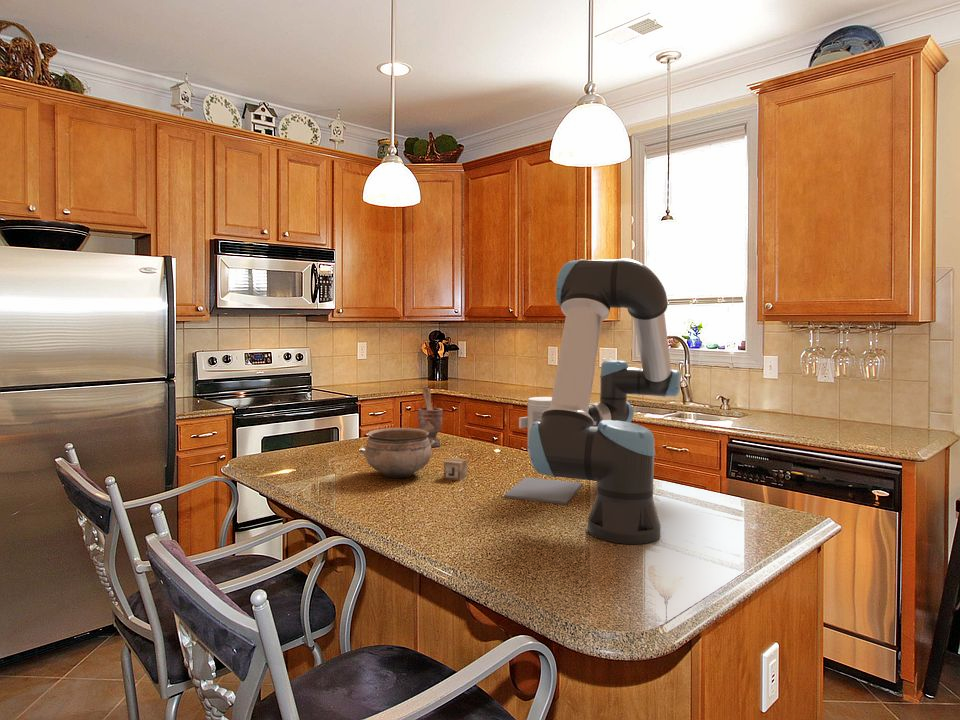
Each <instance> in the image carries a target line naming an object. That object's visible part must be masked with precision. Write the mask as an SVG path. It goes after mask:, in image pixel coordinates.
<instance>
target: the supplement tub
mask: <svg viewBox="0 0 960 720" xmlns="http://www.w3.org/2000/svg"><path fill="white" fill-rule="evenodd" d="M551 401H552V396H534V397H533V396H532V397H529V398H527V417H528V427H527V439H526V440H527V443H526V444H527V448H526V449H527V453H528V454H529V455H530V453H529V432H530V428H531V427H532V424H533V423H534V422H537V421H540V422H541V419H542V413H543V411H545V410H546V409H548V408H549V407H550V406H551Z"/></svg>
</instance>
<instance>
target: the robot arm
mask: <svg viewBox="0 0 960 720" xmlns="http://www.w3.org/2000/svg"><path fill="white" fill-rule="evenodd" d="M555 287H556V290H555V299H556V302H557V305H558V306H559V307H560V309H561V310H560V311H561V313H562V314H563V315H564V316H565V320H564V325H563V331H562V338H561V342H560V350H559V353H558V361H557V366H556V371H555V377H554V378H555V379H554V384H553V390H552V396H551V397H552V401H551V406H550V407H549V408H548V409H546V410H545V411H543V413H542V419H541V422H540V421H537V422H534V423H533V424H532V427H531V428H530V432H529V453H530V454H529V453H528V454H529V457H530V458H529V459H530V463H531V465H532V467H533V469H534V471H536V472H537V473H538V474H540V475H544V476H550V477H552V478H557V477H558V478H565V479H567V478H568V479H574V480H585V481H594V482H596V484H597V485H596V486H597V487H596V496H595V499H594V503H593V504H592V508H591V510H590V514H589V515H588V519H587V531H588V533H589V534H590V535H591V536H593V537H595V538H598V539H600V540H602V541H606V542H611V543H616V544H617V543H618V544H626V545H640V544H641V545H642V544H648V543H652V542H656V541H658V540H659V539H660V537H661V532H662V531H661V523H660V522H661V521H660V519H659V516H658V511H657V508H656V506H655V505H656V504H655V502H654V472H655V456H656V450H655V436H654V433H653V432H652V431H651V430H650V429H649V428H648V427H645V426H643V425H640V424H637V423H634V422H633V423H632V420H633V418H634V414H635V413H634V409H633V406H632V404H631V403H630V402H628V399H627V398H628V397H627V396H628V395H639V396H653V397H663V398H666V397H677V396H679V394H680V391H681V383H682V382H681V381H682V380H681V372H680V371H679V370H678V369H673V368H672V364H671V356H670V348H669V338H668V334H667V333H668V332H667V325H666V318H665V316H666V315H665V313H666V311H667V309H668V297H667V296H668V295H667V291H666V290H665V287H664V285H663V283H662V281H661V280H660V279H659V277H658V276H657V275H656V273H655V272H653V271H652V270H651V269H650V268H649V267H647V266H646V265H645V264H643V263H641V262H639V261H637V260H634V259H631V258H619V259H617V258H616V259H615V258H612V259H610V258H609V259H608V258H607V259H585V258H580V259H578V260H569V261H568V262H565V263H564V264H563V266H562V267H561V269H560V270H559V272H558V275H557V279H556V283H555ZM612 308H613V309H615V308H616V309H619V308H620V309H621V308H622V309H623V308H624V309H627V313H628V315H629V316H630V317H632V318H633V322H634V329H635V334H636V341H637V345H638V346H637V347H638V350H639V351H638V352H639V357H640V362H641V367H629V364H628V362H627V361H626V360H620V359H619V360H617V359H616V360H615V359H609V360H607V359H606V360H604V361H602V363H601V366H600V367H601V368H600V369H601V370H600V376H599V378H600V389H599V390H600V393H599V396H600V397H599V402H596V403H591V398H592V389H593V384H594V376H595V369H596V363H597V355H598V350H599V342H600V336H601V329H602V322H604V321H605V320H607V319H608V318H609V317H610V310H611V309H612ZM518 428H519V429H524V428H528V416H523V417H518Z"/></svg>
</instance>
